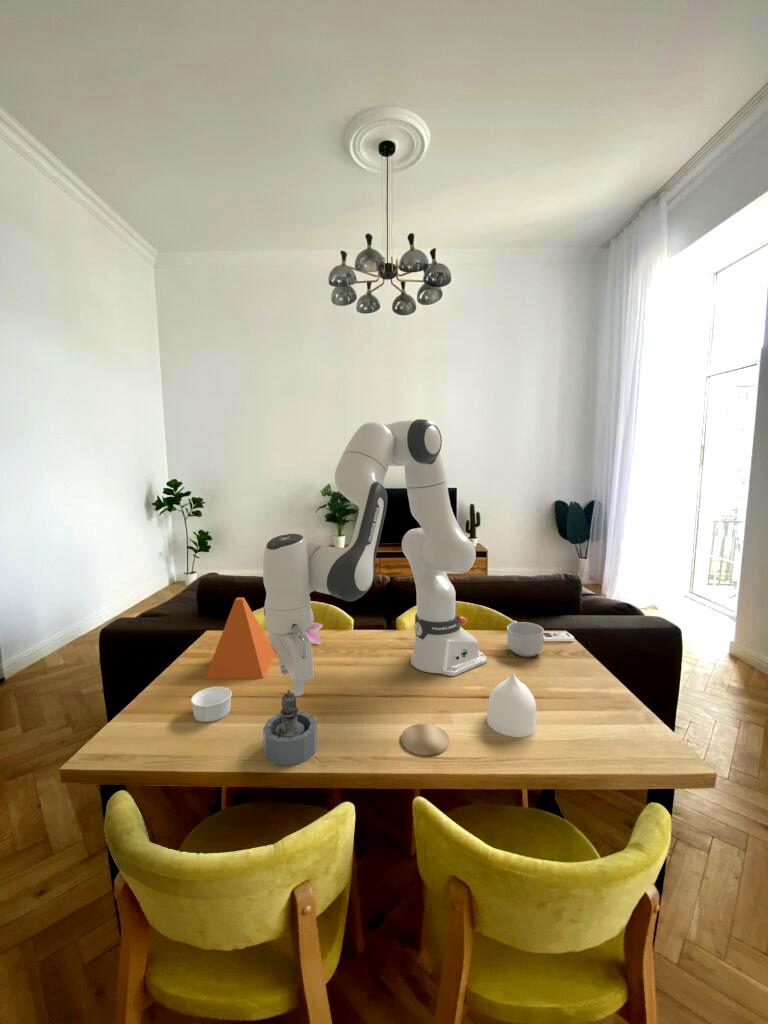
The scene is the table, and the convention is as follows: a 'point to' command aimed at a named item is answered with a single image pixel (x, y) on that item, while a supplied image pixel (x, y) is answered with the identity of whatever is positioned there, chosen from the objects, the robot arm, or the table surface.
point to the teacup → (525, 638)
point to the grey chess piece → (289, 718)
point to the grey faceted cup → (290, 741)
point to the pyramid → (241, 647)
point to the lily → (313, 631)
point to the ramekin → (211, 704)
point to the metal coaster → (425, 739)
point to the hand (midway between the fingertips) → (291, 683)
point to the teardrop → (512, 709)
